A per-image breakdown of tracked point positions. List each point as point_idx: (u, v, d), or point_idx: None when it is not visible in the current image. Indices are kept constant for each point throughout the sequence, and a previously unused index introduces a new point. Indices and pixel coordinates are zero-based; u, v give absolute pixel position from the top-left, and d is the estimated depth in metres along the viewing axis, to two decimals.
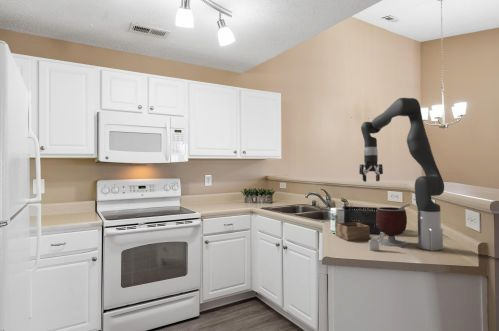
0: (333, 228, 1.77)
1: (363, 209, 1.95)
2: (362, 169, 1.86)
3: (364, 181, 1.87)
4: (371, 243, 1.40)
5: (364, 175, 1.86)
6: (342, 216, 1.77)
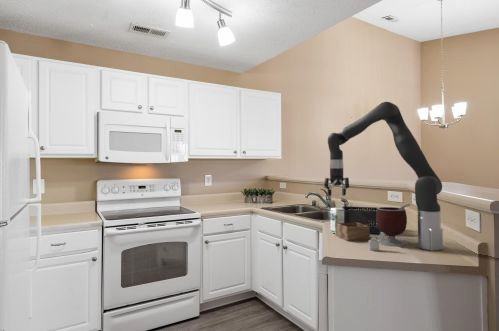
0: (333, 228, 1.77)
1: (362, 209, 1.95)
2: (327, 183, 1.77)
3: (329, 195, 1.78)
4: (371, 243, 1.40)
5: (329, 189, 1.77)
6: (342, 216, 1.77)
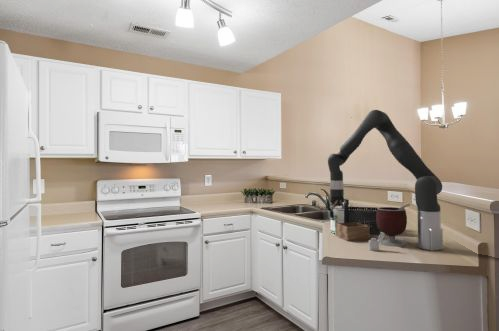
0: (333, 228, 1.77)
1: (362, 209, 1.95)
2: (328, 205, 1.77)
3: (331, 217, 1.78)
4: (371, 243, 1.40)
5: (331, 211, 1.77)
6: (342, 216, 1.77)
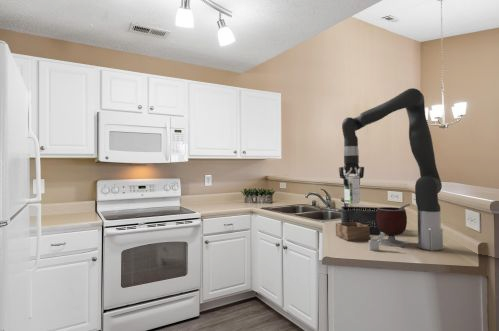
0: (347, 197, 1.65)
1: (361, 209, 1.95)
2: (342, 172, 1.64)
3: None
4: (371, 243, 1.40)
5: (345, 179, 1.65)
6: (357, 184, 1.65)
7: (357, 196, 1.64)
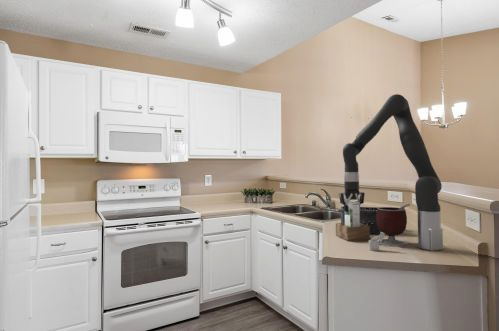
0: (348, 223, 1.65)
1: (360, 209, 1.95)
2: (342, 198, 1.64)
3: None
4: (371, 243, 1.40)
5: (345, 205, 1.65)
6: (357, 210, 1.64)
7: (357, 222, 1.64)
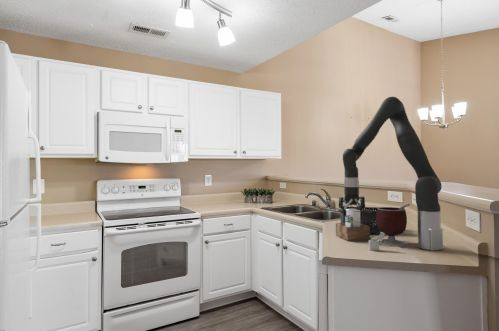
0: None
1: None
2: (341, 203, 1.64)
3: (344, 216, 1.65)
4: (371, 243, 1.40)
5: (344, 209, 1.65)
6: (358, 218, 1.64)
7: None
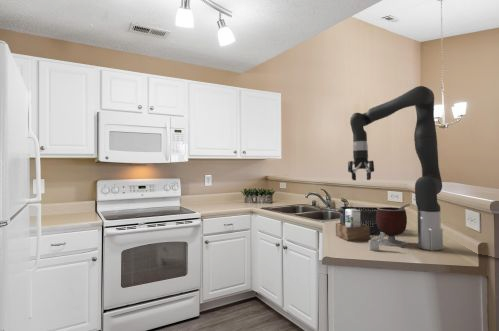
0: None
1: (359, 209, 1.95)
2: (351, 166, 1.65)
3: None
4: (371, 243, 1.40)
5: (353, 173, 1.65)
6: (358, 218, 1.64)
7: None
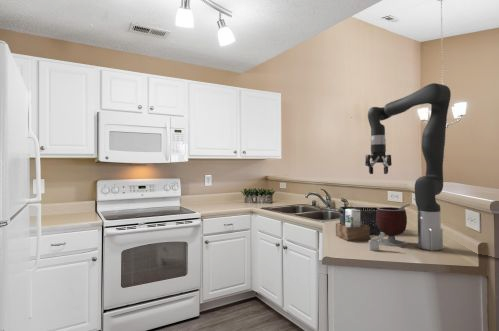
0: None
1: (359, 209, 1.95)
2: (368, 160, 1.65)
3: (371, 173, 1.67)
4: (371, 243, 1.40)
5: (371, 167, 1.66)
6: (358, 218, 1.64)
7: None
